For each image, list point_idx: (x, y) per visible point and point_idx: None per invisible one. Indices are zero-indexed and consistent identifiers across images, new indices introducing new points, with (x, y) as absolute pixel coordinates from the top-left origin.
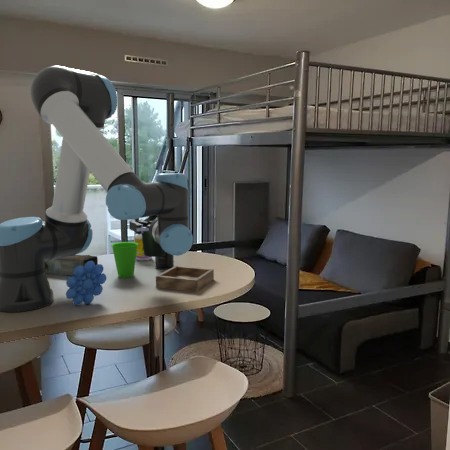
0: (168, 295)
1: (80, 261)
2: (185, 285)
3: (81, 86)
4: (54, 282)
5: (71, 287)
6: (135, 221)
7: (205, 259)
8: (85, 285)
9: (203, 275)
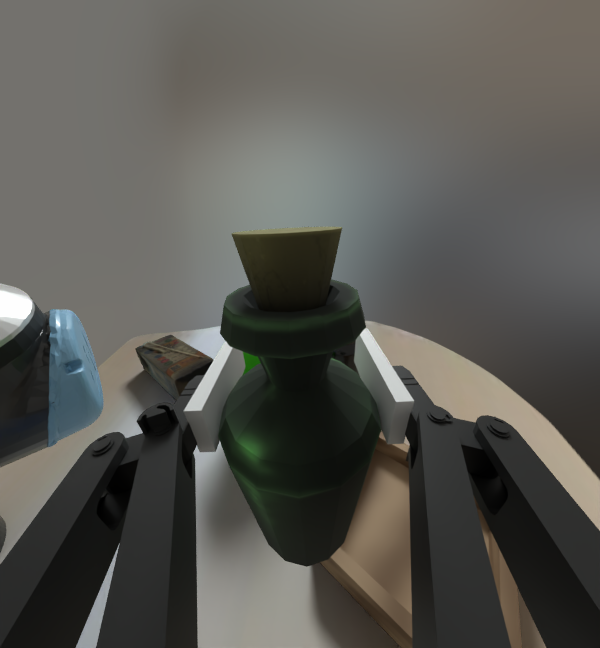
0: None
1: (171, 380)
2: None
3: None
4: (119, 424)
5: None
6: (146, 438)
7: (415, 355)
8: None
9: (513, 603)
